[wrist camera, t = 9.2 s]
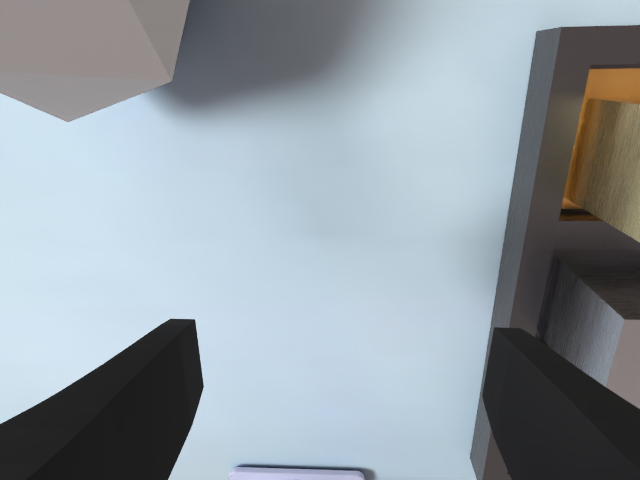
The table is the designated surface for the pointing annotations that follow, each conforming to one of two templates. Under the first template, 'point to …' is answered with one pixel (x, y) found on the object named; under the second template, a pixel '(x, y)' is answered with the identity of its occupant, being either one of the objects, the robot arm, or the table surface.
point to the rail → (554, 186)
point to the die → (87, 51)
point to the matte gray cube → (597, 319)
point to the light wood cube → (610, 164)
